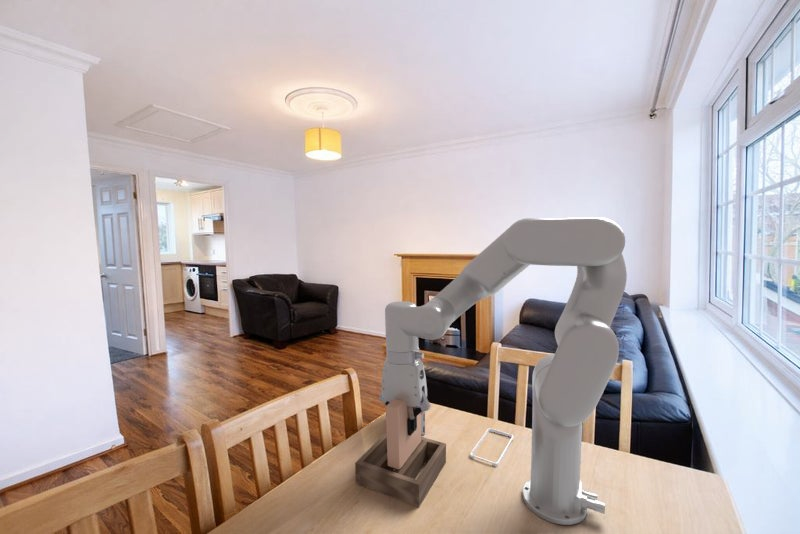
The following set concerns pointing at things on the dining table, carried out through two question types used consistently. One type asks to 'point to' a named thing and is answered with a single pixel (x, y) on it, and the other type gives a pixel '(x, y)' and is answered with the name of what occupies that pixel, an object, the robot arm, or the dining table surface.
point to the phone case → (481, 441)
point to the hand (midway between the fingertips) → (404, 430)
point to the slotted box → (401, 470)
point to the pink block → (400, 434)
